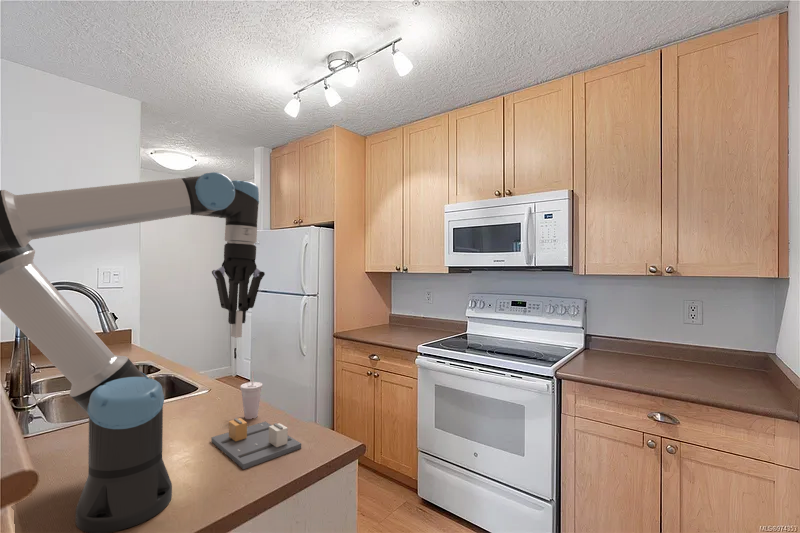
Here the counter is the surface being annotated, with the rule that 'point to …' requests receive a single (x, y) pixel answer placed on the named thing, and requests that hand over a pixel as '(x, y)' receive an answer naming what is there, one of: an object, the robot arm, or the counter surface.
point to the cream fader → (278, 435)
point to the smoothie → (251, 398)
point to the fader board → (253, 446)
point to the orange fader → (237, 429)
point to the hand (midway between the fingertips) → (236, 336)
